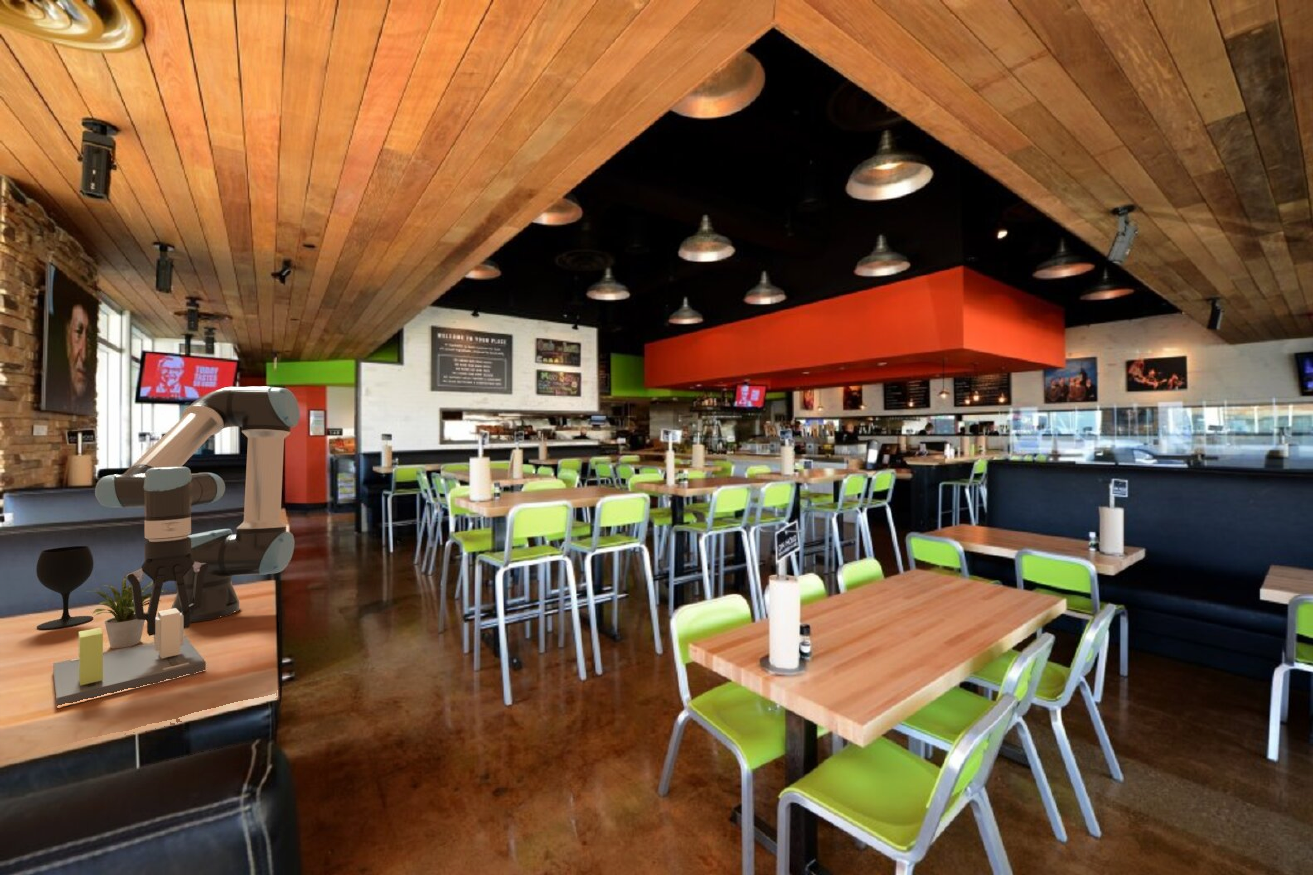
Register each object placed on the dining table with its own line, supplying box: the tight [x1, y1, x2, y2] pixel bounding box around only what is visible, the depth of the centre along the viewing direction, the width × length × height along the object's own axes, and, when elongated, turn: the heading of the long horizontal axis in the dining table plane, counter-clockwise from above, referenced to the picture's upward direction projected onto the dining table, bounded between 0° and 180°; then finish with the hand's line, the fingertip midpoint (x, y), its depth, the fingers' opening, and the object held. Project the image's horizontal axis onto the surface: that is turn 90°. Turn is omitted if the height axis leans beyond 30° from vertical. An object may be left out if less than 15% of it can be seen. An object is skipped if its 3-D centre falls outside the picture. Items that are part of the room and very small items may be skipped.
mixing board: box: [52, 635, 207, 707], centre depth 114 cm, size 21×24×2 cm
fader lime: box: [78, 627, 104, 685], centre depth 105 cm, size 3×5×9 cm, turn 49°
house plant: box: [84, 575, 169, 649], centre depth 129 cm, size 14×14×16 cm
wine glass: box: [35, 545, 95, 631], centre depth 146 cm, size 10×10×20 cm
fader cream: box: [157, 608, 180, 659], centre depth 117 cm, size 3×5×9 cm, turn 49°
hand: (168, 646), depth 117 cm, fingers closed on fader cream, 3 cm apart
